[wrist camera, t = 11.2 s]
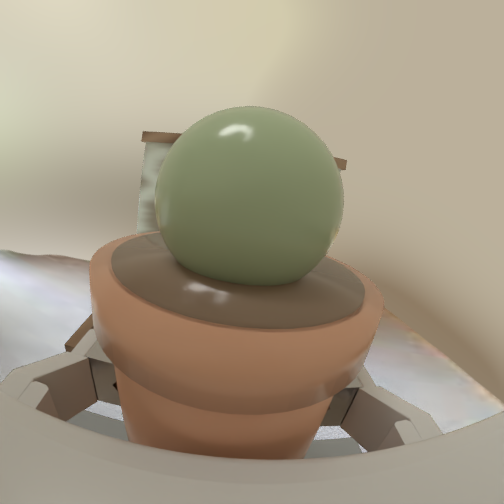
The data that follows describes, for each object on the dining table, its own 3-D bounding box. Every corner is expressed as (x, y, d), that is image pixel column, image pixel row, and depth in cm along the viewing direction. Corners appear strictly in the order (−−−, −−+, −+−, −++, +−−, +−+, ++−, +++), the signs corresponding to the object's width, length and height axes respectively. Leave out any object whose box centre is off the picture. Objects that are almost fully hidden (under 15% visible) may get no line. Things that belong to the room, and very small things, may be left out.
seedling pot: (125, 534, 6) (36, 55, 2) (150, 432, 13) (157, 121, 9) (288, 550, 7) (496, 134, 3) (274, 445, 14) (349, 150, 10)
